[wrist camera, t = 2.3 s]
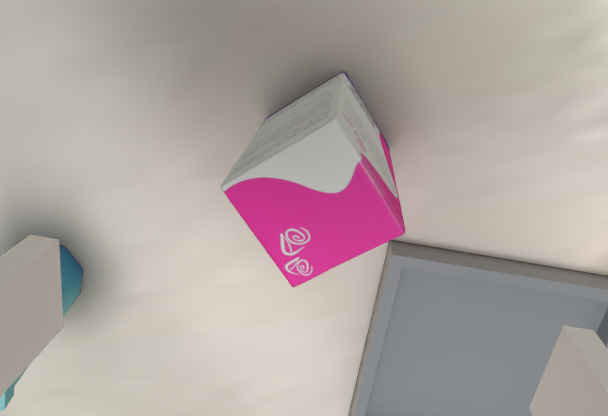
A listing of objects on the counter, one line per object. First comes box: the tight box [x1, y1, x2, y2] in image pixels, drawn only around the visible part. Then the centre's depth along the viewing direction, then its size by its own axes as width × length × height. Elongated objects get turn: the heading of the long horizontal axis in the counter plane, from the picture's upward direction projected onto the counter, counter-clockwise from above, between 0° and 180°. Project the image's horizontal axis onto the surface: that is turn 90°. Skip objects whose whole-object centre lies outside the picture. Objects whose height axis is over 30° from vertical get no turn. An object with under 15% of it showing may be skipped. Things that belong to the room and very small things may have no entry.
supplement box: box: [221, 72, 405, 287], centre depth 25 cm, size 6×6×12 cm
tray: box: [349, 240, 608, 416], centre depth 35 cm, size 16×16×2 cm
